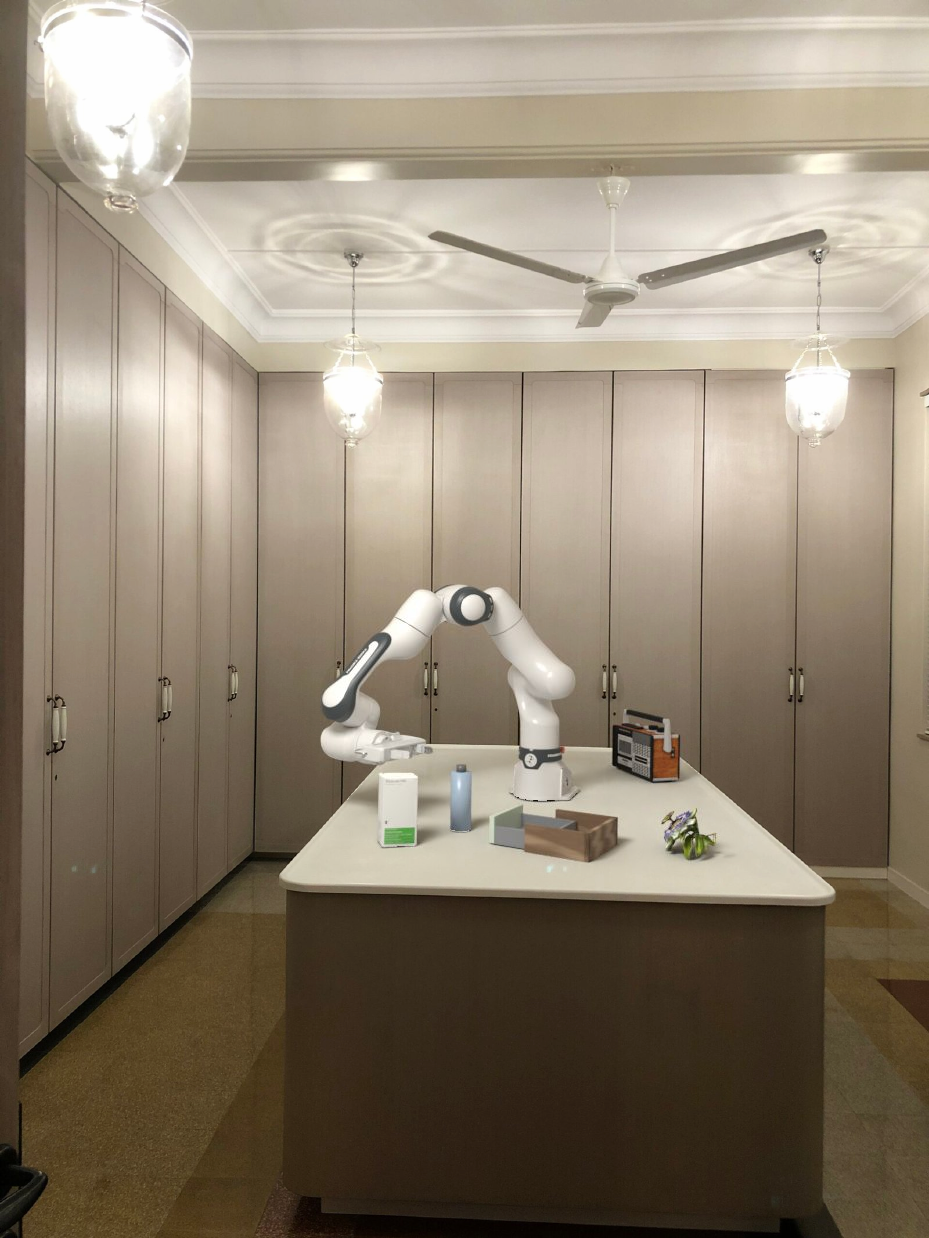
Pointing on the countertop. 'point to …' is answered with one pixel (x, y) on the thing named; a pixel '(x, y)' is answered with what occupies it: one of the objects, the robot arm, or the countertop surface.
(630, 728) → the radio cassette player
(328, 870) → the countertop surface
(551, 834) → the brown open box
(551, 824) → the drawer
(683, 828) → the passion flower
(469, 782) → the lotion bottle
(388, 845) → the skincare box
